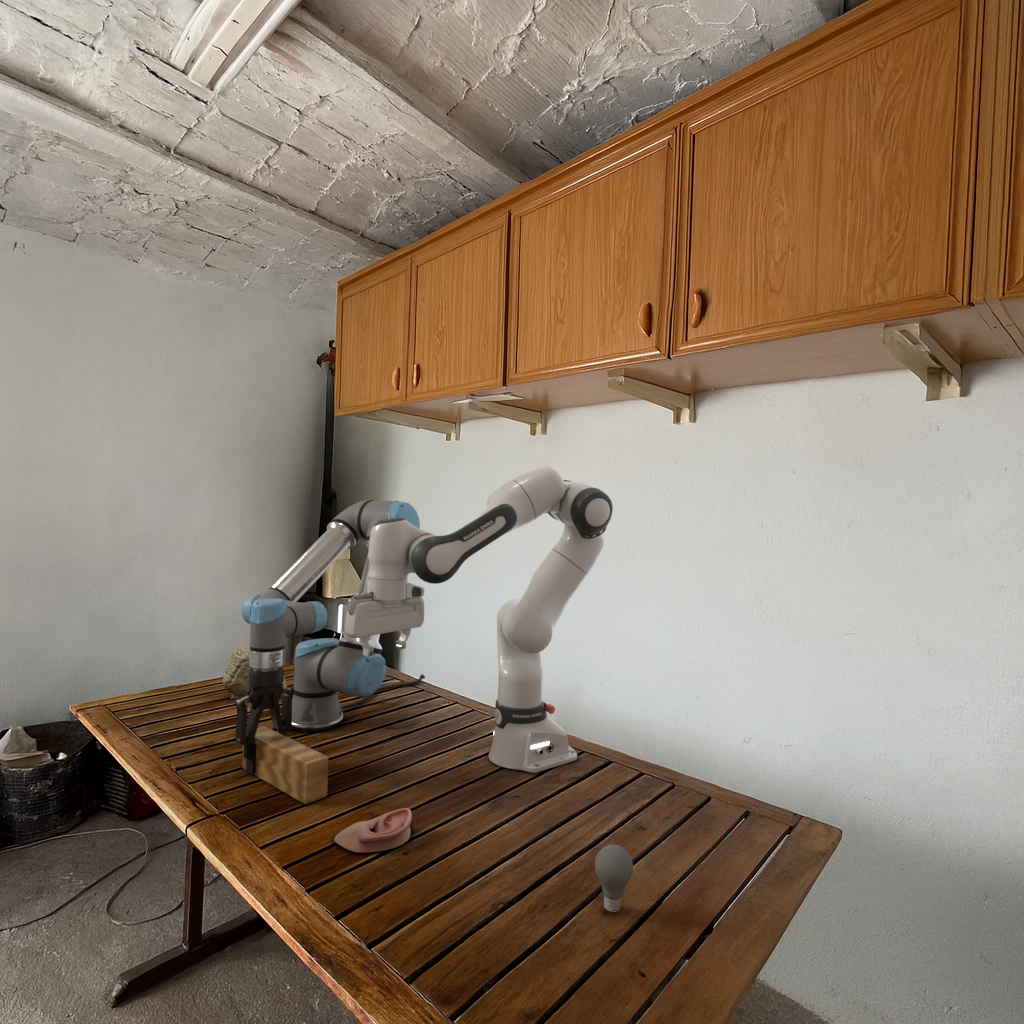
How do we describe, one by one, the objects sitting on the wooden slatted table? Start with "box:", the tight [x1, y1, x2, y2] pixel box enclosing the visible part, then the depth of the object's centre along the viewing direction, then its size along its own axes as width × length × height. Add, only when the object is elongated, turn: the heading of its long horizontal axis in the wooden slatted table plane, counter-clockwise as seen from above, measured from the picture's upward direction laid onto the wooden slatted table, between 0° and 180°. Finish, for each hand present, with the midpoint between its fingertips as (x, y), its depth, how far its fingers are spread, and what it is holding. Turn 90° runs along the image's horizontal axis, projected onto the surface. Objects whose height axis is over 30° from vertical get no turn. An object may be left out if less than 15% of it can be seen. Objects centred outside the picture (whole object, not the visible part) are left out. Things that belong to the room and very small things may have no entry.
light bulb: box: [594, 844, 634, 913], centre depth 100 cm, size 6×6×10 cm
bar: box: [242, 725, 330, 805], centre depth 140 cm, size 25×5×8 cm, turn 51°
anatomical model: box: [333, 807, 413, 854], centre depth 119 cm, size 13×4×12 cm
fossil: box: [222, 646, 288, 699], centre depth 198 cm, size 9×18×15 cm, turn 132°
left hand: (262, 767), depth 145 cm, fingers closed on bar, 5 cm apart
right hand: (384, 652), depth 142 cm, fingers open, 8 cm apart
